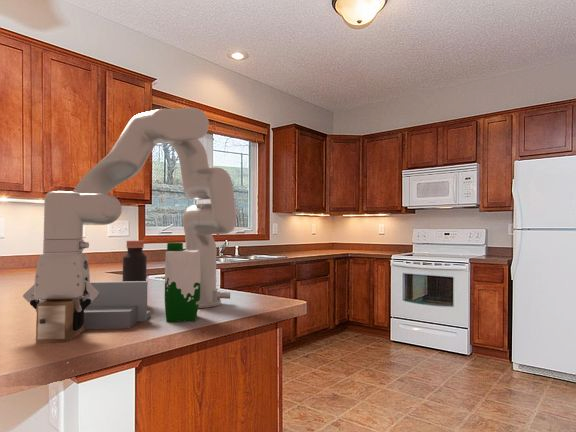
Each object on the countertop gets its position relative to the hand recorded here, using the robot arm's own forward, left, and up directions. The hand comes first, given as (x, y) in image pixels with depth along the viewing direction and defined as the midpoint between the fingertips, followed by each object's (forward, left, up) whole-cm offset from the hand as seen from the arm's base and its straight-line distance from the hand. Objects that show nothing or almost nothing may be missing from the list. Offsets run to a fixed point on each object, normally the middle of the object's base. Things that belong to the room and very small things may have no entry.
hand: (61, 328), depth 86 cm
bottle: (-7, -34, -2) cm, 34 cm away
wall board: (-5, -12, -2) cm, 13 cm away
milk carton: (-24, -15, -2) cm, 28 cm away
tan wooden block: (0, 0, -2) cm, 2 cm away
